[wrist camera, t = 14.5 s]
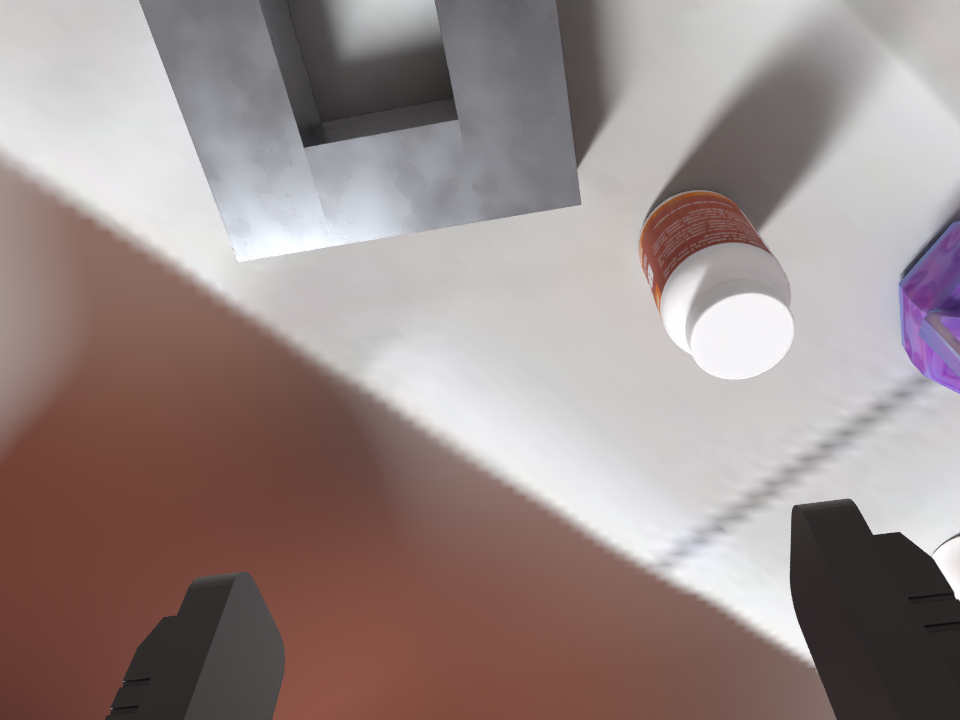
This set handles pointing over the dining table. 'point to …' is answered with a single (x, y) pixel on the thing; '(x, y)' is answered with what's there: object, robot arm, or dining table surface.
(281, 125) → the bore housing
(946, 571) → the beer glass
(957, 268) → the lantern
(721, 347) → the pill bottle
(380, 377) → the dining table surface
